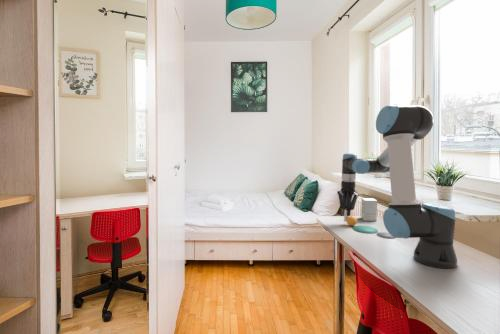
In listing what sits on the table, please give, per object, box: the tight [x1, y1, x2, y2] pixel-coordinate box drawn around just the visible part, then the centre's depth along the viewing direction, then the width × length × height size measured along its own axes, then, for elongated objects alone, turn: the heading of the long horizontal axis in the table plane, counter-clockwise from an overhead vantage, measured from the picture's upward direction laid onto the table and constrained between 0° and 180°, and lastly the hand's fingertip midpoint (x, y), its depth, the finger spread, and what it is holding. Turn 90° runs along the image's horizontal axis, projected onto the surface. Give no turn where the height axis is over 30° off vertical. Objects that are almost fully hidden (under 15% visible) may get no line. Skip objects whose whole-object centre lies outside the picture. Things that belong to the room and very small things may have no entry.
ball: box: [346, 215, 358, 227], centre depth 167 cm, size 6×6×6 cm
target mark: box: [352, 225, 379, 234], centre depth 161 cm, size 13×13×1 cm
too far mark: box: [376, 231, 396, 239], centre depth 151 cm, size 9×9×1 cm
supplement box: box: [360, 197, 378, 222], centre depth 180 cm, size 7×7×13 cm
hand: (346, 220), depth 170 cm, fingers closed
